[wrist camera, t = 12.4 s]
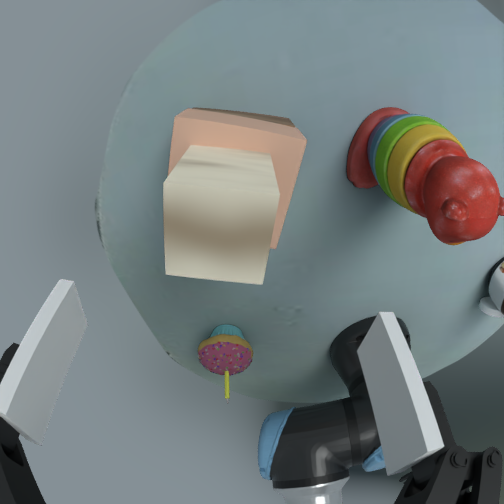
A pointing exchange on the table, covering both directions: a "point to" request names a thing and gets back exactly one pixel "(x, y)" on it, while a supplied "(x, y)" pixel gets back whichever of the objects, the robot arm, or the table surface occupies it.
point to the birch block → (220, 214)
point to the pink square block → (244, 147)
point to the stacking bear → (425, 174)
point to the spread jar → (495, 292)
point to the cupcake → (225, 353)
